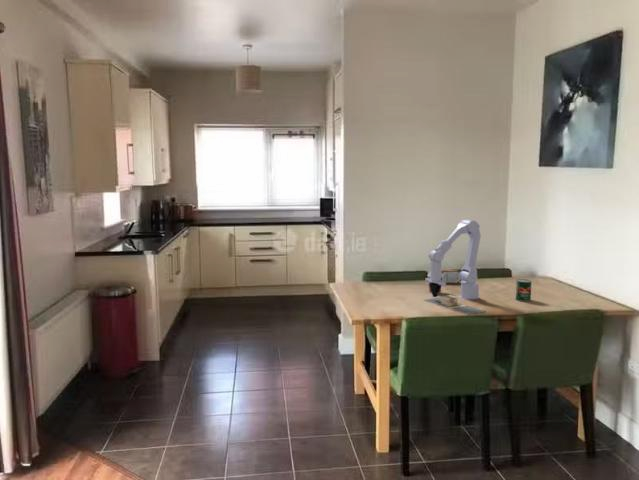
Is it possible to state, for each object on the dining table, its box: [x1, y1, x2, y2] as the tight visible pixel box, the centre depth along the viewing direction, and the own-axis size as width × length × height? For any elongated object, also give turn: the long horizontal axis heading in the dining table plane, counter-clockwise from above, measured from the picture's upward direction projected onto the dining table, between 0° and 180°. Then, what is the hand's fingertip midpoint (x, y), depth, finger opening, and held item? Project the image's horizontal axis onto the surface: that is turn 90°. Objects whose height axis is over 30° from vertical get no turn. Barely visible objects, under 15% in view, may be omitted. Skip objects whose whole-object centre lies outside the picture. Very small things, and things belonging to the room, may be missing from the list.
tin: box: [441, 269, 461, 284], centre depth 340 cm, size 15×3×8 cm, turn 92°
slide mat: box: [423, 296, 487, 316], centre depth 284 cm, size 12×34×1 cm, turn 30°
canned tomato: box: [515, 278, 533, 302], centre depth 297 cm, size 8×8×11 cm
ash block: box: [440, 294, 458, 306], centre depth 286 cm, size 6×6×4 cm
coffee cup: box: [427, 271, 443, 295], centre depth 314 cm, size 9×9×12 cm
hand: (435, 296), depth 295 cm, fingers closed
